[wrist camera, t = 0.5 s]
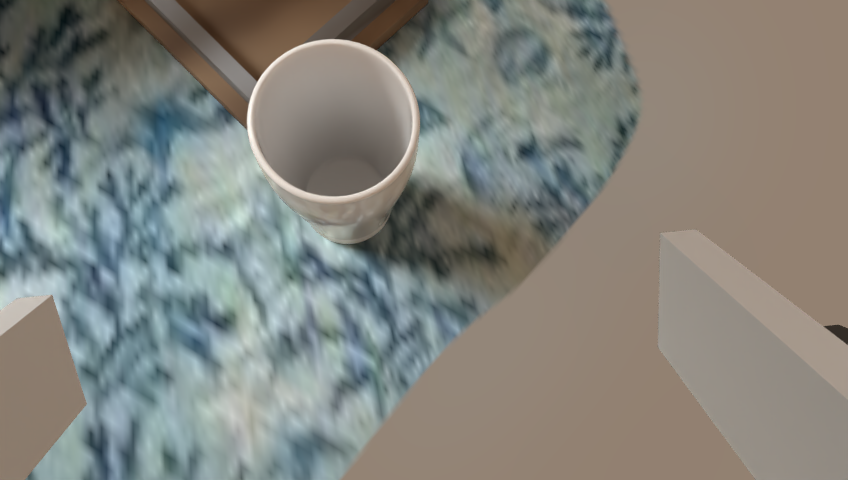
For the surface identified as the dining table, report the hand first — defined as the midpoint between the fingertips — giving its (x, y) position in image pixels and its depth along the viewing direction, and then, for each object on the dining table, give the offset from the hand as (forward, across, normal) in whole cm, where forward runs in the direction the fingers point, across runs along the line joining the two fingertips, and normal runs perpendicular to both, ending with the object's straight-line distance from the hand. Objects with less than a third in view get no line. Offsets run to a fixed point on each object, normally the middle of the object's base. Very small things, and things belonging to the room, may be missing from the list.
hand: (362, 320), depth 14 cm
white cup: (+26, -3, -4) cm, 26 cm away
